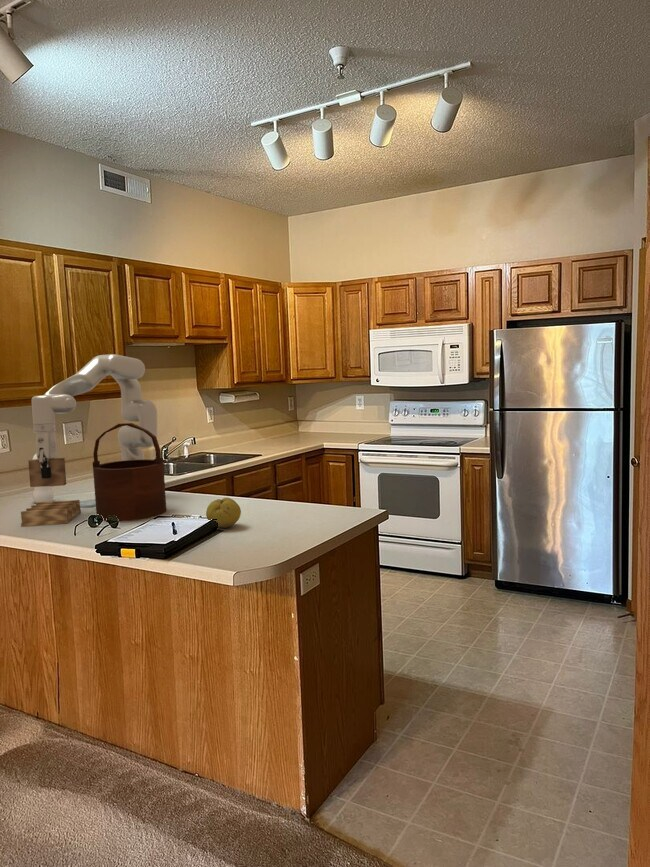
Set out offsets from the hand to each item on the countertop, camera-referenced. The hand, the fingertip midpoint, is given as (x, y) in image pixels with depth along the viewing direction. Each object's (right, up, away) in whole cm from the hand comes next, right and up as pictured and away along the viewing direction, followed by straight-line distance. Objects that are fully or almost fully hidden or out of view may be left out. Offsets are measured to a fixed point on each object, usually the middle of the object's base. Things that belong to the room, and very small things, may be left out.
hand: (48, 477), depth 230 cm
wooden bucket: (+29, -15, +7) cm, 34 cm away
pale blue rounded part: (+6, -14, +27) cm, 31 cm away
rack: (+1, -16, +2) cm, 16 cm away
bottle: (-18, -13, +36) cm, 42 cm away
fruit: (+70, -16, -21) cm, 74 cm away
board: (0, -3, 0) cm, 3 cm away
